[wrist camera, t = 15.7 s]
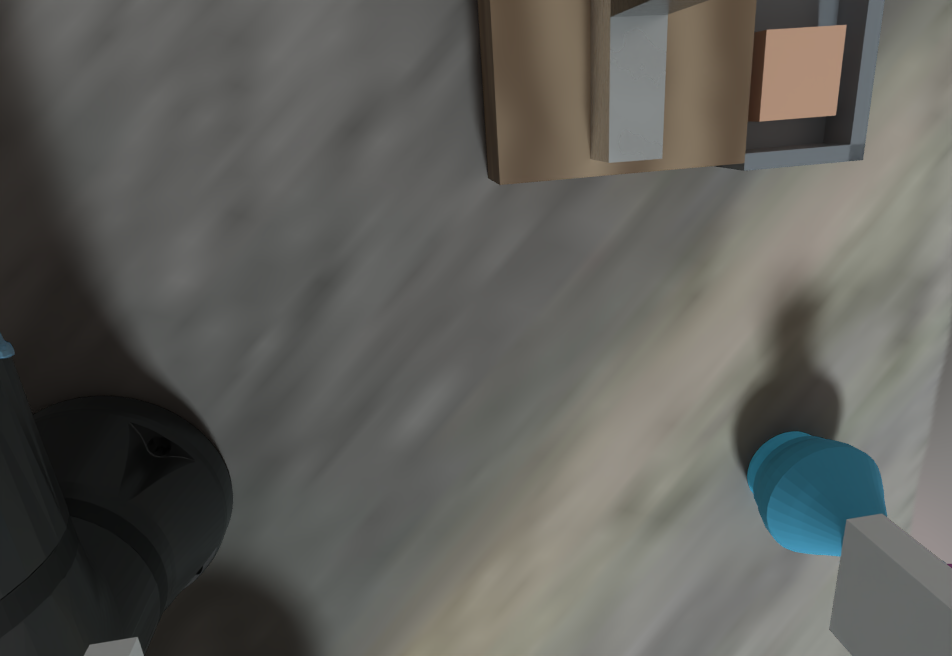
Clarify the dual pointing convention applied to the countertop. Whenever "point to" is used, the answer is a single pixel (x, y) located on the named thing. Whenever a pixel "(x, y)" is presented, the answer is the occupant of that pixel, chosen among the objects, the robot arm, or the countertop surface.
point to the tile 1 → (796, 73)
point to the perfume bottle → (813, 490)
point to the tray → (843, 134)
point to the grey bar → (629, 77)
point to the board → (569, 89)
